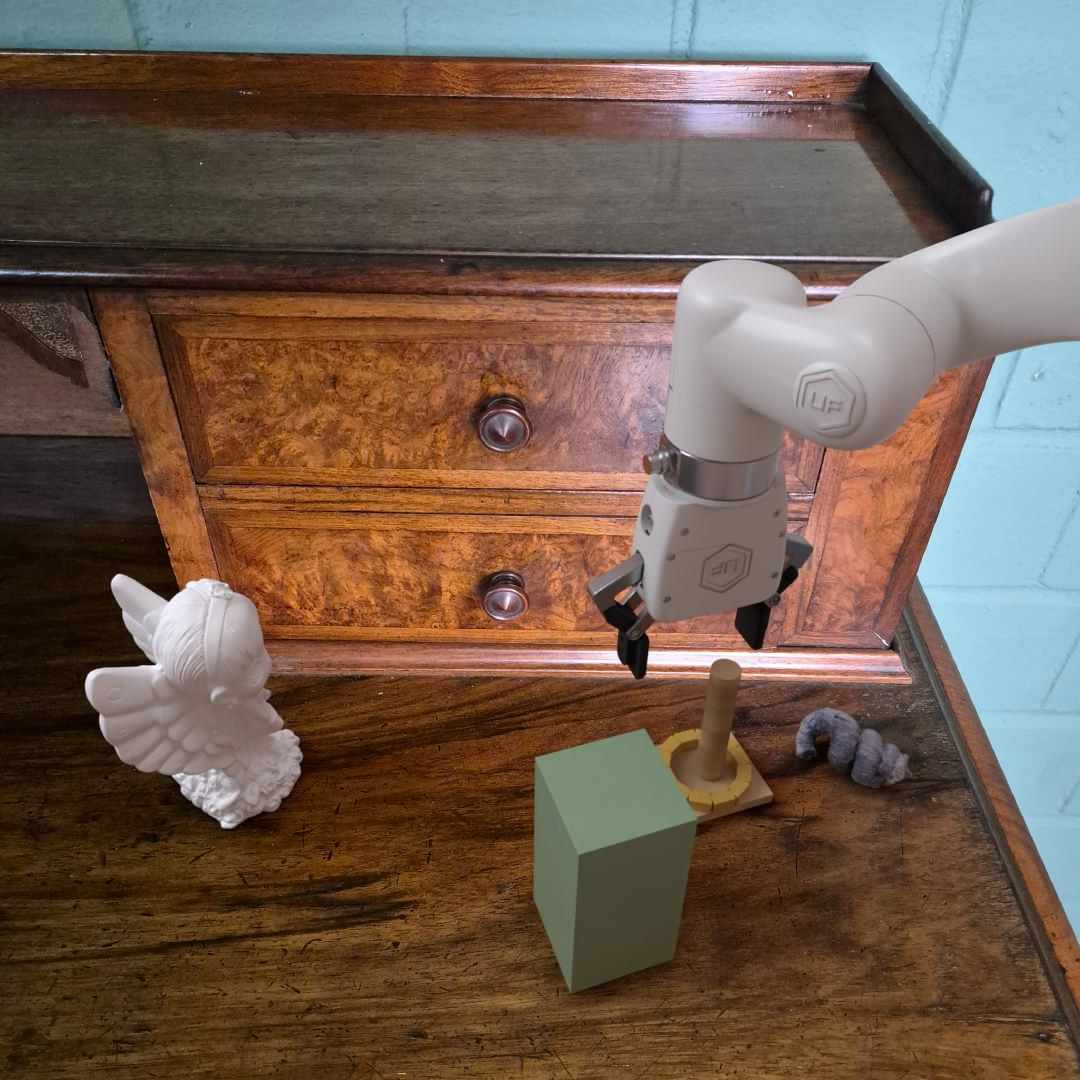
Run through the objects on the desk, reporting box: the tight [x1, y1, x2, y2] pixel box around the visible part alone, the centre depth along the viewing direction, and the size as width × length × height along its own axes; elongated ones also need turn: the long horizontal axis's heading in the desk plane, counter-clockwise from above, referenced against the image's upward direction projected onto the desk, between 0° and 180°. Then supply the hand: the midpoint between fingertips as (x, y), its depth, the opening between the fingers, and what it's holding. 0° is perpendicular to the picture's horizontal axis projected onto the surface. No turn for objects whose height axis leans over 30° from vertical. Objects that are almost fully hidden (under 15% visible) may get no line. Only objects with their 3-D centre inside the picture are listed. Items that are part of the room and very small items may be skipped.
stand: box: [532, 728, 698, 995], centre depth 66 cm, size 8×8×16 cm
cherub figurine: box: [84, 573, 304, 830], centre depth 75 cm, size 13×12×20 cm
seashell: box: [795, 706, 914, 789], centre depth 82 cm, size 5×5×10 cm
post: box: [655, 658, 774, 825], centre depth 78 cm, size 8×8×13 cm
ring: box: [658, 728, 752, 813], centre depth 81 cm, size 8×8×1 cm
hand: (691, 652), depth 72 cm, fingers open, 9 cm apart
